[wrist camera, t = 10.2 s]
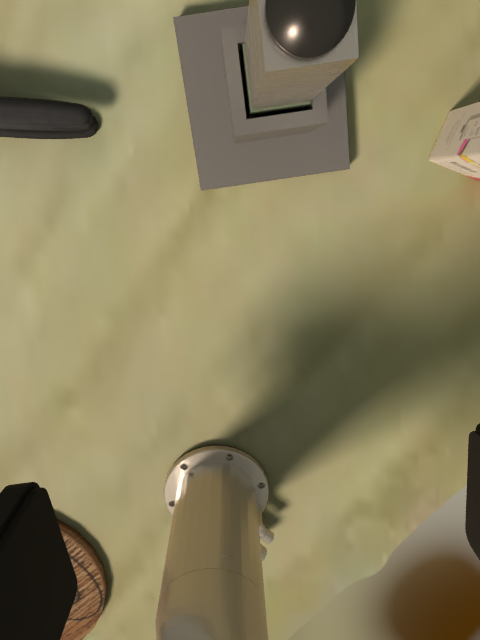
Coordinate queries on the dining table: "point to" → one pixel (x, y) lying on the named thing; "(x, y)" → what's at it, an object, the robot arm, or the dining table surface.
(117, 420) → the dining table surface
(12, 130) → the can opener
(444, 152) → the ink cartridge box
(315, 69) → the column
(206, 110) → the stand
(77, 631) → the trivet
